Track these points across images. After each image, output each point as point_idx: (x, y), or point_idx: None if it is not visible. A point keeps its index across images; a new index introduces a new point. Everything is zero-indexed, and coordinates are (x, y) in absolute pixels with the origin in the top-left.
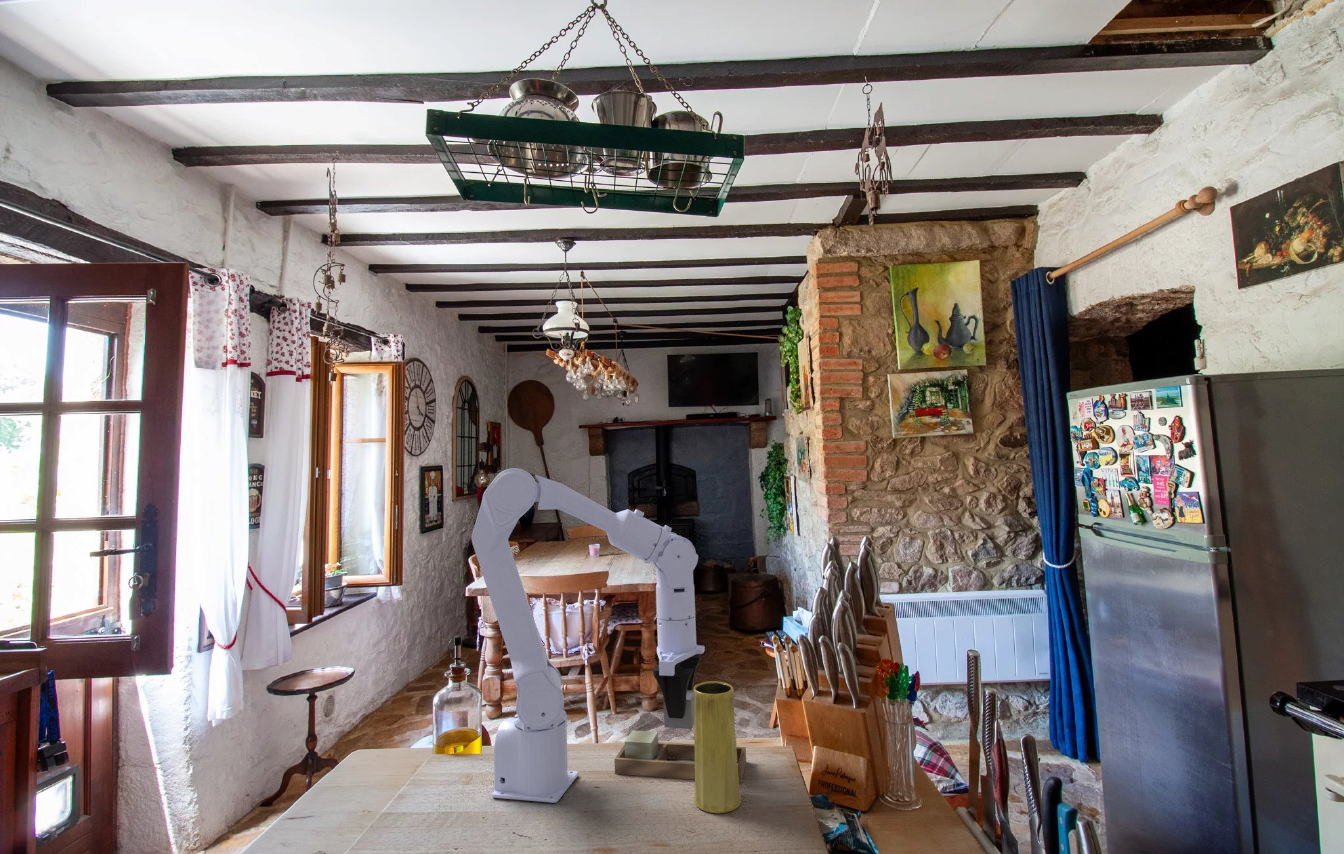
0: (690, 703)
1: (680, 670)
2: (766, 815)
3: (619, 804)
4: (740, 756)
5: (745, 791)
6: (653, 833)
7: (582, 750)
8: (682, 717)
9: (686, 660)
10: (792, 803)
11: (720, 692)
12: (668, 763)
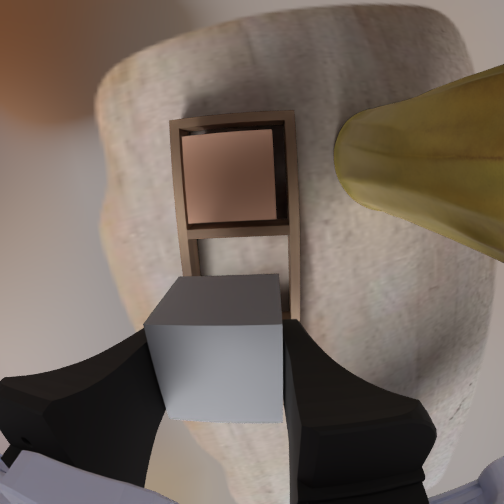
0: (281, 317)
1: (363, 479)
2: (406, 63)
3: (403, 341)
4: (227, 121)
5: (328, 103)
6: (478, 258)
7: (219, 445)
8: (296, 320)
9: (91, 461)
10: (351, 16)
11: (498, 129)
12: (299, 300)
